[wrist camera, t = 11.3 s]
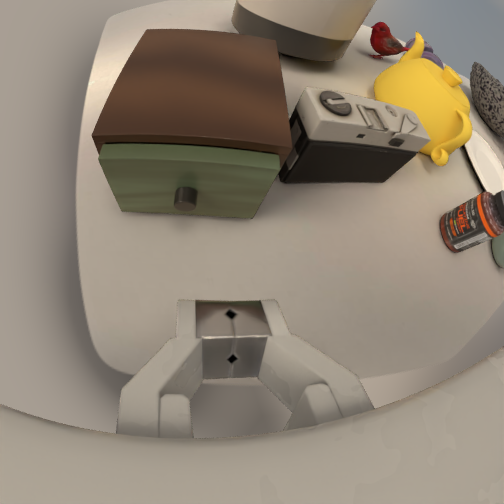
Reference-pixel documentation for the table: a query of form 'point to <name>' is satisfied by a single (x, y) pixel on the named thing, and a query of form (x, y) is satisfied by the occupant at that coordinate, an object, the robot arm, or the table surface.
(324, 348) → the table surface
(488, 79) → the bowl
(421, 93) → the teapot
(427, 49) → the headphones
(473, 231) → the supplement bottle
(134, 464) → the robot arm
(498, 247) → the cup
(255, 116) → the cabinet
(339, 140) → the camera
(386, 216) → the table surface
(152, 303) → the table surface
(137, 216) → the table surface
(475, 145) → the plate
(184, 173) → the drawer
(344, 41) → the planter
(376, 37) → the decorative bird figurine
